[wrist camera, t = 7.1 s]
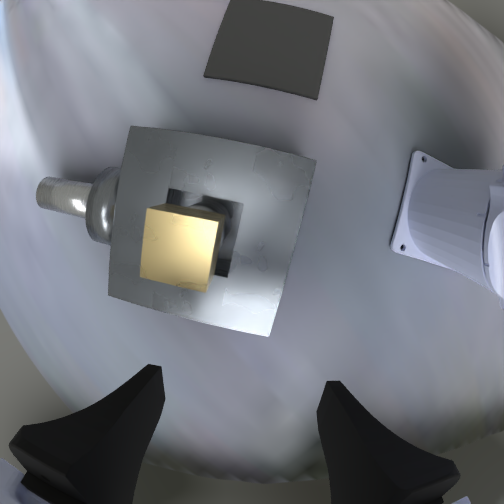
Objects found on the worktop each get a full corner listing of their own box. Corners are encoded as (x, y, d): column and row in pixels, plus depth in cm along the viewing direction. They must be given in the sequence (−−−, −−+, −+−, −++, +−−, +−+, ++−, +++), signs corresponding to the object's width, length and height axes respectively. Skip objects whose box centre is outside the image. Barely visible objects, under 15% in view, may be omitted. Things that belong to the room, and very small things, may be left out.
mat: (332, 19, 15) (333, 17, 14) (316, 100, 17) (317, 98, 16) (232, -1, 14) (231, -4, 14) (204, 77, 16) (203, 75, 16)
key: (226, 249, 17) (205, 293, 11) (183, 239, 17) (139, 276, 11) (235, 205, 17) (218, 222, 10) (190, 196, 17) (147, 207, 10)
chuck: (301, 166, 18) (317, 160, 13) (266, 301, 20) (268, 337, 15) (76, 130, 17) (36, 122, 12) (61, 247, 20) (23, 264, 15)
